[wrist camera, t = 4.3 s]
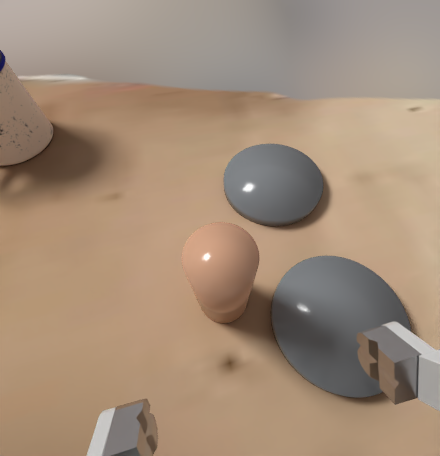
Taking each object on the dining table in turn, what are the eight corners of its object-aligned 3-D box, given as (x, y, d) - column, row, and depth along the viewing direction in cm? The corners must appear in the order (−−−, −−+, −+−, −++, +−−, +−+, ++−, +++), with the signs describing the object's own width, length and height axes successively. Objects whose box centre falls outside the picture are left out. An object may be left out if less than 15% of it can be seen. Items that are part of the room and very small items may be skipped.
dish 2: (302, 415, 17) (306, 418, 16) (253, 277, 22) (254, 273, 21) (433, 371, 18) (443, 371, 17) (359, 248, 23) (364, 243, 22)
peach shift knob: (205, 329, 20) (190, 304, 12) (194, 281, 22) (175, 232, 14) (254, 315, 20) (270, 282, 12) (239, 269, 22) (245, 214, 14)
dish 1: (240, 237, 23) (240, 232, 23) (213, 161, 28) (213, 154, 27) (337, 212, 24) (341, 206, 24) (296, 142, 29) (298, 136, 28)
